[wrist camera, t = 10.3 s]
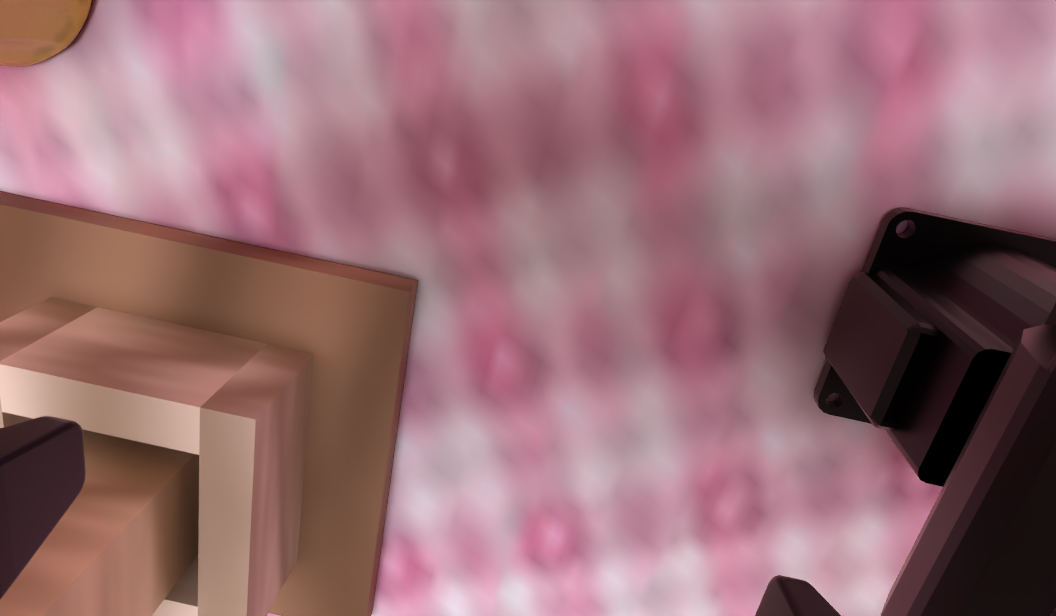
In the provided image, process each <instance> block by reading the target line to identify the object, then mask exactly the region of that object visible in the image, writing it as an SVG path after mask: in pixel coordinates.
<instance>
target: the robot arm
mask: <svg viewBox="0 0 1056 616" xmlns="http://www.w3.org/2000/svg"><path fill="white" fill-rule="evenodd" d="M904 220H909V222H910V224H909V228H908V229H907V231H906V232H904V233H902V234H897V233H896V227H897V225H898V224H899V223H900V222H902V221H904ZM824 354H825V356H826V357H827V361H826V364H825V366H824V369H823V371H822V374H821V376H820V379H819V381H818V384H817V386H816V389H815V392H814V398H815V401H816V403H817V405H818V407H819V408H820V409H821V410H822V411H823V412H824V413H827V414H829V415H834V416H839V417H843V418H848V419H853V420H857V421H862V422H867V423H871V424H873V425H874V426H875V427H878V428H883V429H884V430H885V431H886V432H887V434H888V435H889V437H890V438H891V439H892V441H893V442H894V444H895V445H896V446H897V448H898V449H899V451H900V452H901V453H902V455H903V456H904V458H905V459H906V460H907V462H908V463H909V465H910V466H911V467H912V469H913V470H914V472H915V473H916V474H917V476H918V477H919V479H920V480H921V481H923V482H926V483H929V484H934V485H938V486H943V488H942V490H941V492H940V494H939V496H938V498H937V500H936V502H935V504H934V506H933V508H932V510H931V512H930V514H929V516H928V518H927V520H926V522H925V524H924V526H923V528H922V530H921V532H920V534H919V535H918V537H917V539H916V541H915V543H914V545H913V547H912V549H911V551H910V553H909V555H908V557H907V559H906V561H905V563H904V565H903V567H902V569H901V571H900V573H899V575H898V577H897V579H896V581H895V583H894V584H893V586H892V588H891V590H890V592H889V595H888V597H887V600H886V603H885V605H884V608H883V611H882V613H881V616H1056V239H1052V238H1047V237H1043V236H1038V235H1033V234H1028V233H1024V232H1019V231H1014V230H1009V229H1004V228H1000V227H995V226H990V225H985V224H981V223H976V222H971V221H966V220H961V219H957V218H952V217H947V216H942V215H938V214H933V213H928V212H923V211H918V210H914V209H909V208H898V209H895V210H892V211H891V212H890V213H888V214H887V215H886V216H885V218H884V220H883V221H882V223H881V226H880V228H879V231H878V233H877V236H876V238H875V241H874V243H873V246H872V249H871V251H870V254H869V256H868V259H867V261H866V264H865V266H864V269H863V271H862V272H860V273H859V274H857V275H856V276H854V277H853V278H852V279H851V282H850V284H849V287H848V289H847V292H846V294H845V297H844V299H843V302H842V305H841V307H840V310H839V312H838V315H837V317H836V320H835V322H834V325H833V327H832V330H831V332H830V335H829V338H828V340H827V343H826V345H825V348H824ZM833 393H838V394H839V396H838V398H837V399H836V400H834V401H826V398H827V397H828V396H829V395H830V394H833ZM85 476H86V469H85V453H84V438H83V430H82V428H81V426H80V425H79V424H78V423H77V422H75V421H71V420H67V419H62V418H57V417H53V416H42V417H38V418H34V419H31V420H27V421H24V422H20V423H17V424H13V425H10V426H6V427H3V428H0V599H1V598H2V597H3V596H4V595H5V593H6V592H7V591H8V589H9V588H10V587H11V586H12V584H13V583H14V582H15V581H16V579H17V578H18V577H19V575H20V574H21V572H22V571H23V570H24V568H25V567H26V566H27V564H28V563H29V562H30V560H31V559H32V557H33V556H34V555H35V553H36V552H37V551H38V549H39V548H40V547H41V545H42V544H43V543H44V541H45V540H46V538H47V537H48V536H49V534H50V533H51V532H52V530H53V529H54V528H55V526H56V525H57V523H58V522H59V521H60V519H61V518H62V517H63V515H64V514H65V513H66V511H67V510H68V509H69V507H70V506H71V504H72V503H73V502H74V500H75V499H76V498H77V496H78V495H79V493H80V491H81V489H82V487H83V485H84V482H85ZM755 616H841V615H840V614H839V613H838V612H837V611H836V610H835V609H834V608H833V607H832V606H831V605H830V604H829V603H828V602H827V601H826V600H825V599H824V598H823V597H822V596H821V595H820V594H819V593H818V592H817V590H816V589H815V588H814V587H813V586H812V585H810V584H809V583H808V582H806V581H803V580H799V579H795V578H790V577H785V576H781V575H778V576H775V577H773V578H772V579H771V581H770V582H769V584H768V586H767V589H766V591H765V593H764V596H763V598H762V600H761V603H760V605H759V608H758V610H757V612H756V615H755Z"/></svg>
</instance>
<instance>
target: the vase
mask: <svg viewBox="0 0 1056 616" xmlns="http://www.w3.org/2000/svg"><path fill="white" fill-rule="evenodd" d="M91 1H92V0H0V65H3V66H20V67H22V66H28V65H34V64H36V63H39V62H41V61H44V60H46V59H47V58H49V57H51V56H53V55H55V54H57V53H58V52H60V51H62V50H63V49H65V48H66V47H67V46H68V45H69V44H70V43H71V42H72V41H73V40H74V39H75V37H76V36H77V35H78V33H79V31H80V30H81V28H82V26H83V24H84V22H85V20H86V18H87V16H88V13H89V9H90V6H91Z"/></svg>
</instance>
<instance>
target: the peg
mask: <svg viewBox="0 0 1056 616" xmlns="http://www.w3.org/2000/svg"><path fill="white" fill-rule="evenodd" d="M82 430H83V429H82ZM83 438H84V453H85V469H86V476H85V482H84V485H83V487H82V489H81V491H80V493H79V495H78V496H77V498H76V499H75V500H74V502H73V503H72V504H71V506H70V507H69V509H68V510H67V511H66V513H65V514H64V515H63V517H62V518H61V519H60V521H59V522H58V523H57V525H56V526H55V528H54V529H53V530H52V532H51V533H50V534H49V536H48V537H47V538H46V540H45V541H44V543H43V544H42V545H41V547H40V548H39V549H38V551H37V552H36V553H35V555H34V556H33V557H32V559H31V560H30V562H29V563H28V564H27V566H26V567H25V568H24V570H23V571H22V572H21V574H20V575H19V577H18V578H17V579H16V581H15V582H14V583H13V584H12V586H11V587H10V588H9V589H8V591H7V592H6V593H5V595H4V596H3V597H2V598H1V599H0V616H152V615H153V613H154V612H155V611H156V609H157V608H158V607H159V606H160V604H161V603H162V602H163V600H164V599H165V598H166V596H167V595H168V594H169V592H170V591H171V590H172V588H173V587H174V586H175V585H176V583H177V582H178V581H179V579H180V578H181V577H182V575H183V574H184V573H185V571H186V570H187V569H188V568H189V566H190V565H191V564H192V562H193V561H194V560H195V558H196V557H197V556H198V540H199V455H197V454H193V453H188V452H184V451H179V450H175V449H170V448H165V447H161V446H156V445H152V444H147V443H142V442H138V441H133V440H129V439H124V438H120V437H115V436H110V435H106V434H101V433H97V432H92V431H88V430H83Z"/></svg>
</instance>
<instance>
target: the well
mask: <svg viewBox="0 0 1056 616" xmlns="http://www.w3.org/2000/svg"><path fill="white" fill-rule="evenodd" d="M417 284H418V281H417V280H413V279H408V278H403V277H399V276H394V275H389V274H385V273H380V272H375V271H371V270H366V269H361V268H356V267H352V266H347V265H342V264H338V263H333V262H328V261H324V260H319V259H314V258H310V257H305V256H300V255H296V254H291V253H286V252H281V251H277V250H272V249H267V248H263V247H258V246H253V245H249V244H244V243H239V242H235V241H230V240H225V239H221V238H216V237H211V236H206V235H202V234H197V233H192V232H188V231H183V230H178V229H174V228H169V227H164V226H160V225H155V224H150V223H146V222H141V221H136V220H132V219H127V218H122V217H117V216H113V215H108V214H103V213H99V212H94V211H89V210H85V209H80V208H75V207H71V206H66V205H61V204H57V203H52V202H47V201H42V200H38V199H33V198H28V197H24V196H19V195H14V194H10V193H5V192H0V428H3V427H6V426H10V425H13V424H17V423H20V422H24V421H27V420H31V419H34V418H38V417H42V416H53V417H57V418H62V419H67V420H71V421H75V422H77V423H78V424H79V425H80V426H81V428H82V429H83V430H88V431H92V432H97V433H101V434H106V435H110V436H115V437H120V438H124V439H129V440H133V441H138V442H142V443H147V444H152V445H156V446H161V447H165V448H170V449H175V450H179V451H184V452H188V453H193V454H197V455H199V540H198V556H197V557H196V558H195V560H194V561H193V562H192V564H191V565H190V566H189V568H188V569H187V570H186V571H185V573H184V574H183V575H182V577H181V578H180V579H179V581H178V582H177V583H176V585H175V586H174V587H173V588H172V590H171V591H170V592H169V594H168V595H167V596H166V598H165V599H164V600H163V602H162V603H161V604H160V606H159V607H158V608H157V609H156V611H155V612H154V613H153V615H152V616H267V614H268V613H272V614H276V615H281V616H371V614H372V609H373V602H374V595H375V588H376V580H377V573H378V566H379V559H380V552H381V544H382V537H383V530H384V523H385V515H386V508H387V501H388V494H389V486H390V479H391V472H392V465H393V457H394V450H395V443H396V436H397V429H398V421H399V414H400V407H401V400H402V392H403V385H404V378H405V371H406V363H407V356H408V349H409V342H410V335H411V327H412V320H413V313H414V306H415V298H416V291H417Z"/></svg>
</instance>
